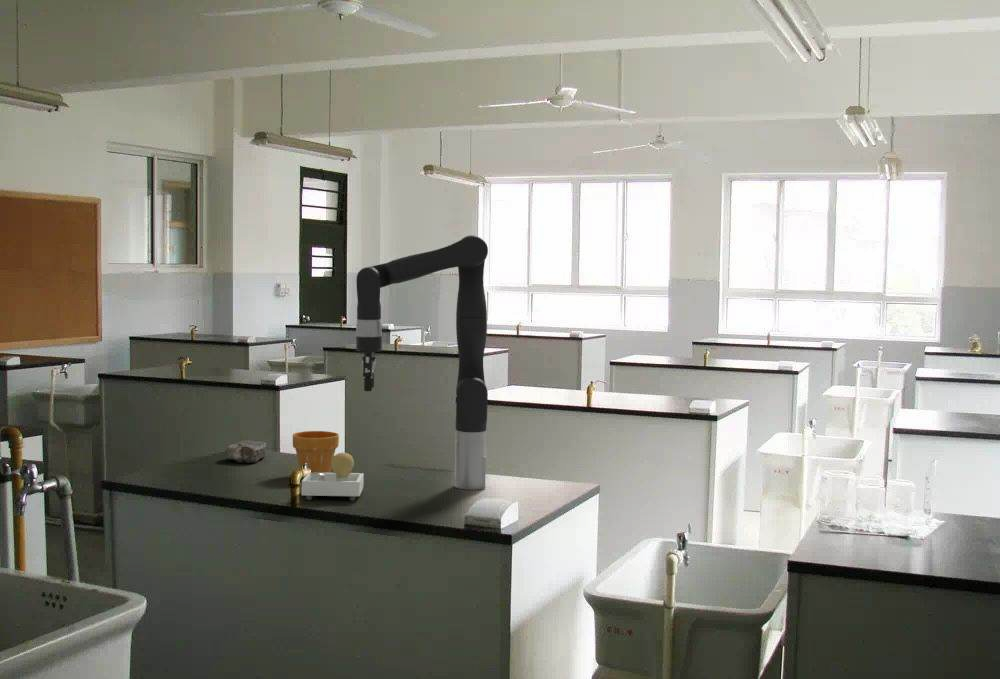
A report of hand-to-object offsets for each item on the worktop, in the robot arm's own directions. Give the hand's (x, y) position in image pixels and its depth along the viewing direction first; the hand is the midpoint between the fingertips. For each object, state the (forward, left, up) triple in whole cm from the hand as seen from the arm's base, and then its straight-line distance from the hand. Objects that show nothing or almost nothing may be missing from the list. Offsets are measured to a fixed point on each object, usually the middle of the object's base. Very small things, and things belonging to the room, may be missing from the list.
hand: (369, 389), depth 297 cm
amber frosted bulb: (+6, +13, -27) cm, 31 cm away
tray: (+9, +14, -29) cm, 33 cm away
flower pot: (+18, -14, -29) cm, 37 cm away
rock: (+44, -38, -30) cm, 65 cm away
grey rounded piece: (+13, +14, -27) cm, 33 cm away
